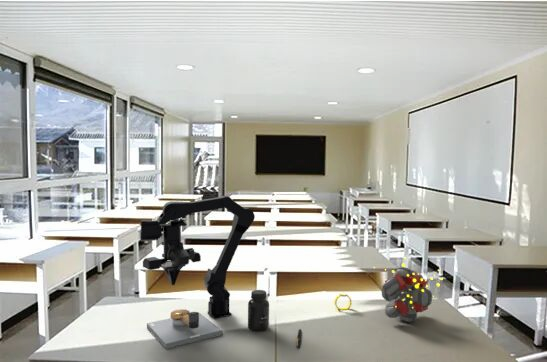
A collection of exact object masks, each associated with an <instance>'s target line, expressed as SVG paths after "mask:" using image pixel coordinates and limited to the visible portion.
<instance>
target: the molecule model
mask: <svg viewBox="0 0 547 362" xmlns="http://www.w3.org/2000/svg"><path fill="white" fill-rule="evenodd" d="M403 259H404V260H407V257H406V256H405V257H404V258H403ZM373 269H376V267H375V266H373ZM384 271H387V269H386V268H385V269H384ZM437 272H440V269H437ZM391 273H392V274H394V276H393V277H391V278H389V279H385V280H384V283H383V285H382V286H381V287H382V288H381V296H382V298H383V299H384V300H385V301H386V302H389V303H387V304H386V305H385V308H384V309H385V312H384V313H385V315H386V317H388V318H389V319H396V318H399V319H400V320H401V321H402V322H403V321H404V322H406V323H413V322H415V321H416V319H417V317H418V313H423V312H425V311H427V310H428V309H429V306H430V305H431V304H432V301H433V298H434V297H435V296H434V295H433V294H432V292H431V290H430V289H428V287H429V285H428V282H429V281H428V280H427V279H425V278H424V277H423V275H422V274H420V273H419V272H417V271H416V270H412V269H410V268H409V267H406V264H405V263H401V266H400V267H397V269H396V271H395V270H391ZM433 276H434V277H436V275H435V274H433ZM443 279H444V278H442V277H441V278H440V281H443ZM430 280H431V281H433V280H434V278H433V277H432V276H431V277H430ZM440 286H441V285H440V283H439V282H437V283H436V287H440Z"/></svg>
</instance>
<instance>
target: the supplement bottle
mask: <svg viewBox="0 0 547 362" xmlns="http://www.w3.org/2000/svg"><path fill="white" fill-rule="evenodd" d="M250 293H251V294H250V298H251V299H249V301H248V302H247V329H248V330H249V331H251V332H253V333H263V332H266V331H268V330H269V328H270V327H269V326H270V302H269V300H268V299H267V291H266V290H263V289H255V290H252V291H251V292H250Z"/></svg>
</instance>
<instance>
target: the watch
mask: <svg viewBox="0 0 547 362" xmlns="http://www.w3.org/2000/svg"><path fill="white" fill-rule="evenodd" d="M341 297H344V298H345V297H346V298H348V299H349V300H348V301H349V303H348V305H347V306H346V307H339V306H338V305H337V302H338V299H339V298H341ZM352 303H353V302H352V298H351V297H350V296H349V295H348V293H346V292H339V294H338V295H336V296H335V299H334V305H335V307H336V309H337V310H338V311H343V310H344V311H348V310H349V309H350V308H351V306H352Z"/></svg>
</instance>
